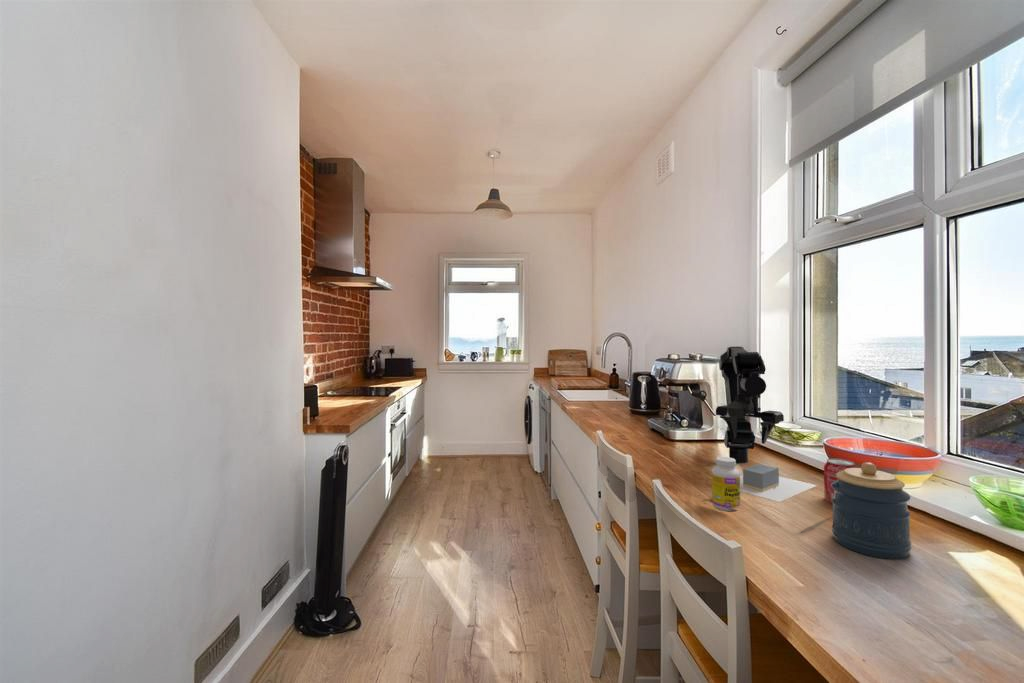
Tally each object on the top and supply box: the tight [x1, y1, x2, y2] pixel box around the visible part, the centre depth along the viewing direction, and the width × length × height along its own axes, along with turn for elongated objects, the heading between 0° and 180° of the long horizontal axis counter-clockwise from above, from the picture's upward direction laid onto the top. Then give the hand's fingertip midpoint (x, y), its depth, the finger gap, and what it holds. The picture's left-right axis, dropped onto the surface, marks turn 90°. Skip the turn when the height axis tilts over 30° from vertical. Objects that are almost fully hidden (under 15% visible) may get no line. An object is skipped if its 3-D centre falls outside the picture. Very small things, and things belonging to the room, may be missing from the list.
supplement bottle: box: [711, 456, 741, 513], centre depth 114 cm, size 7×7×13 cm
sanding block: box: [742, 463, 780, 492], centre depth 125 cm, size 9×6×5 cm, turn 123°
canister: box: [831, 461, 912, 560], centre depth 92 cm, size 13×13×18 cm
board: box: [740, 473, 818, 503], centre depth 126 cm, size 22×18×2 cm
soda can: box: [823, 458, 856, 505], centre depth 112 cm, size 7×7×12 cm
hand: (748, 440), depth 136 cm, fingers open, 9 cm apart
